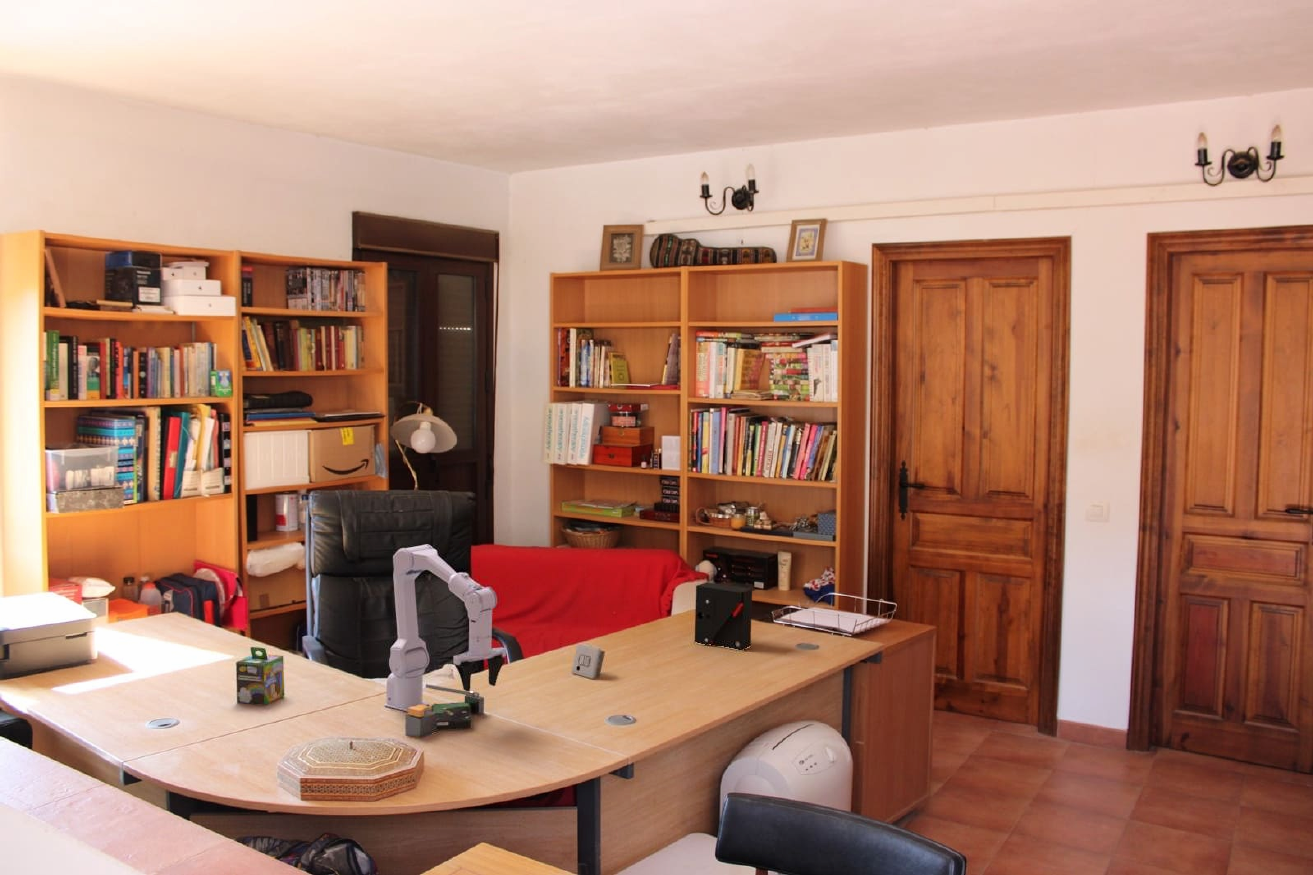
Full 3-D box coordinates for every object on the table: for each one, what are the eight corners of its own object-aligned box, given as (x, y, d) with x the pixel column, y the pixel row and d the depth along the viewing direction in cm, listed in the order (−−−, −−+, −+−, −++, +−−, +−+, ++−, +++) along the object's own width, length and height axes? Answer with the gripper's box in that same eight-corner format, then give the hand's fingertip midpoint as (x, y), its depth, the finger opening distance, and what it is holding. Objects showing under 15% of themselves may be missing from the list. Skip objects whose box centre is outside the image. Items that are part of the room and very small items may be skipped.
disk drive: (472, 730, 273) (470, 711, 287) (472, 719, 273) (470, 701, 287) (430, 731, 271) (431, 712, 285) (430, 721, 270) (431, 702, 285)
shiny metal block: (405, 734, 268) (405, 715, 268) (469, 710, 289) (469, 691, 288) (420, 738, 266) (420, 719, 265) (483, 713, 286) (484, 695, 286)
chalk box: (285, 696, 297) (285, 644, 296) (264, 706, 288) (264, 652, 287) (256, 693, 300) (256, 641, 299) (235, 702, 291) (235, 649, 290)
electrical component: (753, 646, 363) (755, 587, 362) (739, 652, 354) (741, 592, 353) (708, 638, 372) (709, 581, 371) (693, 644, 364) (695, 586, 363)
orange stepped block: (407, 714, 268) (407, 707, 268) (418, 710, 271) (418, 703, 271) (419, 717, 266) (419, 710, 266) (430, 713, 269) (430, 706, 269)
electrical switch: (570, 673, 325) (573, 643, 326) (582, 672, 329) (585, 641, 329) (592, 680, 319) (595, 649, 319) (604, 678, 323) (607, 647, 323)
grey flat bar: (423, 688, 272) (424, 682, 273) (467, 695, 287) (468, 690, 287) (435, 691, 270) (436, 685, 271) (478, 698, 285) (479, 692, 285)
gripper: (463, 643, 267) (462, 696, 268) (512, 634, 277) (511, 686, 278) (449, 637, 273) (448, 689, 274) (497, 629, 282) (497, 679, 283)
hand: (479, 687), depth 276 cm, fingers open, 7 cm apart
